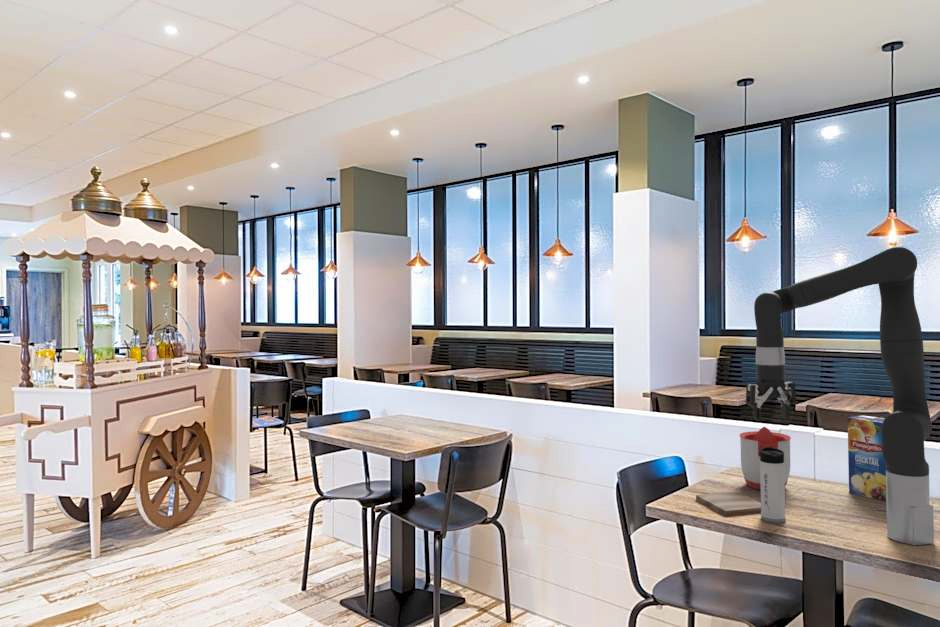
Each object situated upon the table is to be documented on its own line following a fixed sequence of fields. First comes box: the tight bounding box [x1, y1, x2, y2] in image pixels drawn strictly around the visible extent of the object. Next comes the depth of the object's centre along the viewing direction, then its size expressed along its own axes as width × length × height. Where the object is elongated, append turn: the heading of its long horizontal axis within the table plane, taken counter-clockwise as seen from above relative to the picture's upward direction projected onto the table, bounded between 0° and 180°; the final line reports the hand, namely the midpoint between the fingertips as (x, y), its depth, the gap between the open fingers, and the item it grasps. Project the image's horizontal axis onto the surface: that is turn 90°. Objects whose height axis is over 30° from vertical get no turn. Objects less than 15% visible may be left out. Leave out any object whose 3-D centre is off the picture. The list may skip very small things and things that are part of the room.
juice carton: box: [847, 414, 886, 503], centre depth 202 cm, size 12×8×24 cm, turn 26°
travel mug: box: [760, 447, 787, 524], centre depth 183 cm, size 6×7×20 cm
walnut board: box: [695, 490, 761, 517], centre depth 196 cm, size 16×14×2 cm
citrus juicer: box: [739, 426, 792, 490], centre depth 214 cm, size 16×17×20 cm
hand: (771, 419), depth 182 cm, fingers open, 8 cm apart
